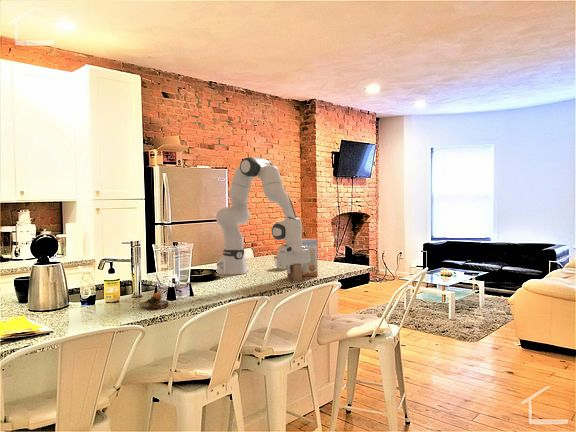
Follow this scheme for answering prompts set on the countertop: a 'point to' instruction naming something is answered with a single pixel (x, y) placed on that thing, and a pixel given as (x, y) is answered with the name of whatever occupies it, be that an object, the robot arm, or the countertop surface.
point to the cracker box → (311, 267)
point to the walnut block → (295, 273)
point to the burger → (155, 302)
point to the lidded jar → (277, 264)
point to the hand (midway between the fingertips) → (294, 272)
